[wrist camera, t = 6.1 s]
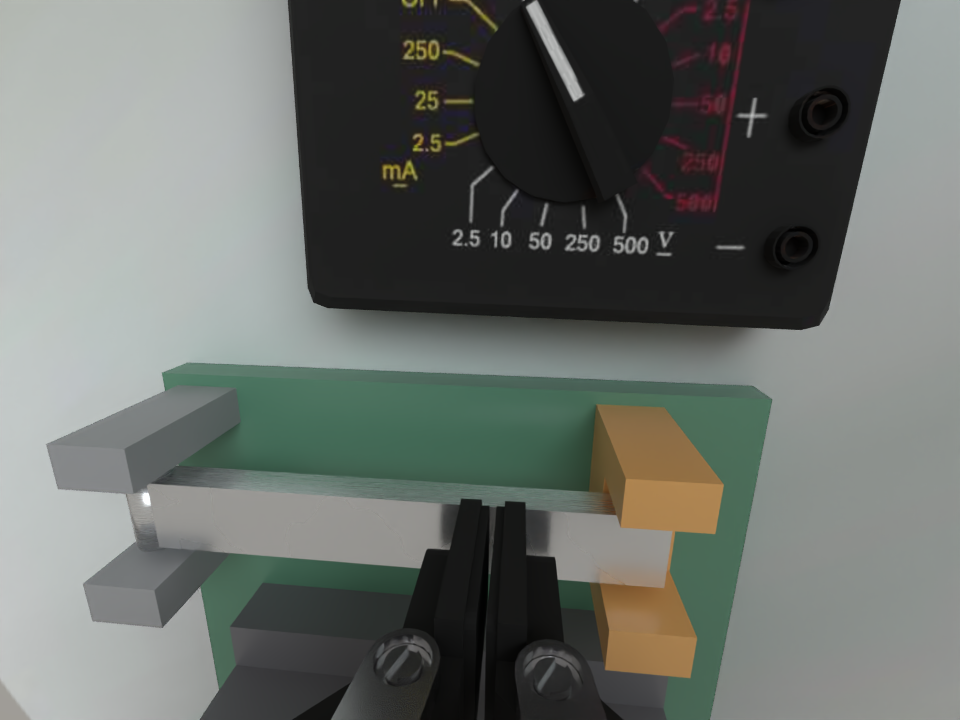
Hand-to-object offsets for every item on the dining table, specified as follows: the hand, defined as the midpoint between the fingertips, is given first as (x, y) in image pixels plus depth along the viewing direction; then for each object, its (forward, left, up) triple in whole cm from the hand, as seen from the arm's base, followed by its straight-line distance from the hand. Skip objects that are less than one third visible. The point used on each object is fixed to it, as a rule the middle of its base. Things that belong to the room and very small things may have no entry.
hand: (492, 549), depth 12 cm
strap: (0, -3, -1) cm, 3 cm away
